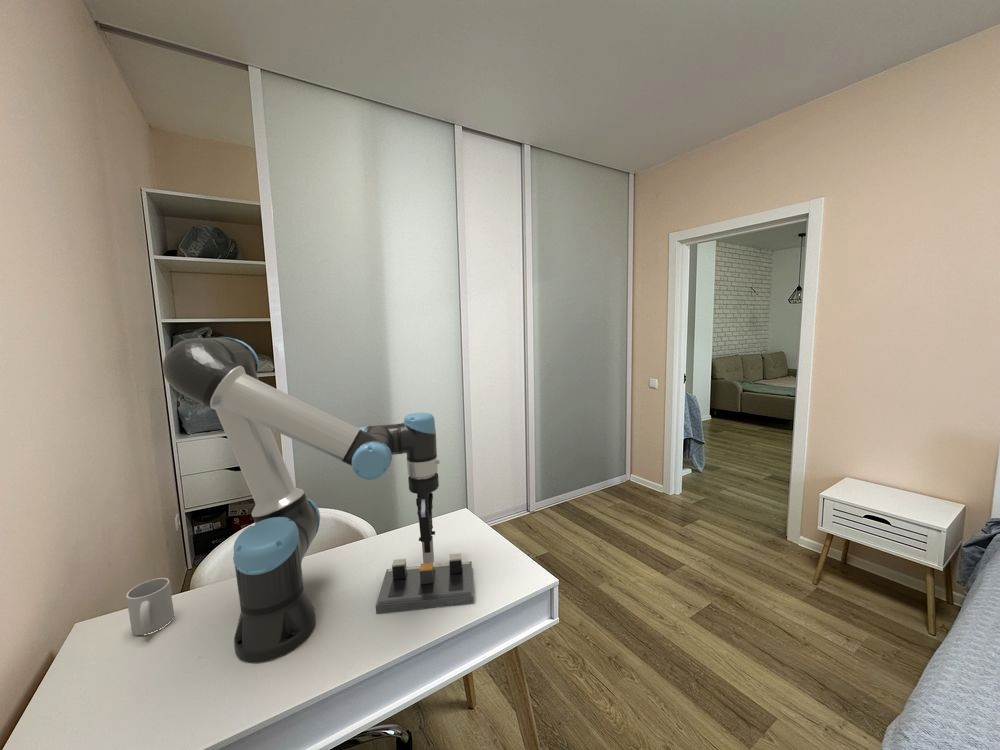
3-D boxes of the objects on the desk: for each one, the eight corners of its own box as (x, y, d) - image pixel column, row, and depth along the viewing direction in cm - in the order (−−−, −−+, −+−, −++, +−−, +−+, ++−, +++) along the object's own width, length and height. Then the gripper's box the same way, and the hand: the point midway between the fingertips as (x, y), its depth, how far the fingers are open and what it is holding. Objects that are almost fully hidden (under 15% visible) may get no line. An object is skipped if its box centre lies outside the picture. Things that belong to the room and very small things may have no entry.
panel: (376, 614, 90) (374, 589, 89) (387, 576, 104) (385, 554, 103) (473, 603, 92) (472, 579, 92) (471, 568, 106) (470, 546, 105)
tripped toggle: (420, 584, 96) (419, 569, 96) (421, 577, 99) (420, 563, 98) (433, 582, 97) (432, 568, 96) (433, 576, 99) (432, 562, 99)
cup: (177, 609, 95) (172, 574, 94) (169, 636, 86) (163, 597, 85) (136, 621, 91) (131, 585, 90) (124, 651, 82) (118, 611, 81)
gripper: (436, 482, 95) (442, 575, 98) (439, 464, 108) (444, 546, 111) (404, 484, 95) (411, 578, 97) (411, 466, 108) (416, 549, 110)
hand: (428, 561), depth 104 cm, fingers closed
